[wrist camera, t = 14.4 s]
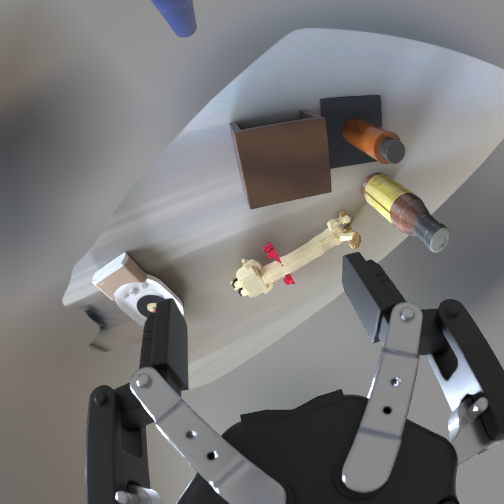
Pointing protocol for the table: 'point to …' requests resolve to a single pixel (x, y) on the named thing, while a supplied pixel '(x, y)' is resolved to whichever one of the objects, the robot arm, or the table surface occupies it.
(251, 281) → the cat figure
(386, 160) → the spice bottle
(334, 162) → the mat
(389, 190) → the sauce bottle
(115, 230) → the table surface
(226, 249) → the table surface
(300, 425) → the robot arm
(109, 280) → the record player
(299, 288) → the table surface
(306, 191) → the brown open box
